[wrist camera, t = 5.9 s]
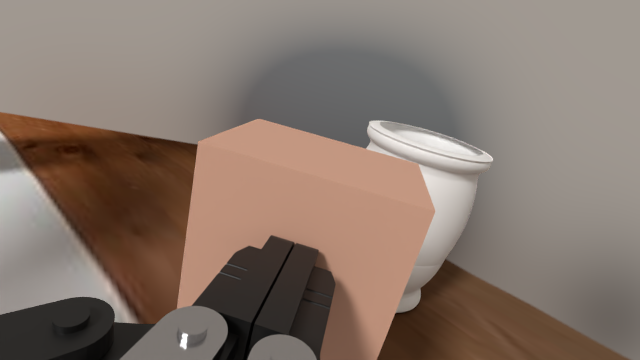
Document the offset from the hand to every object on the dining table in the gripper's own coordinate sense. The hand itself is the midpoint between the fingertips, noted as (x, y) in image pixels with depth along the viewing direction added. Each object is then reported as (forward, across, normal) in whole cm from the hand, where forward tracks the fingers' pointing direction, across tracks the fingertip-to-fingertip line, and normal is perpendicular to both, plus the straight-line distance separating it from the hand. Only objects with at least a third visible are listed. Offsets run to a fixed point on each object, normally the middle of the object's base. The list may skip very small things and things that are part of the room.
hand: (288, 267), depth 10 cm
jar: (+21, -6, +13) cm, 25 cm away
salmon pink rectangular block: (+3, 0, +11) cm, 12 cm away
